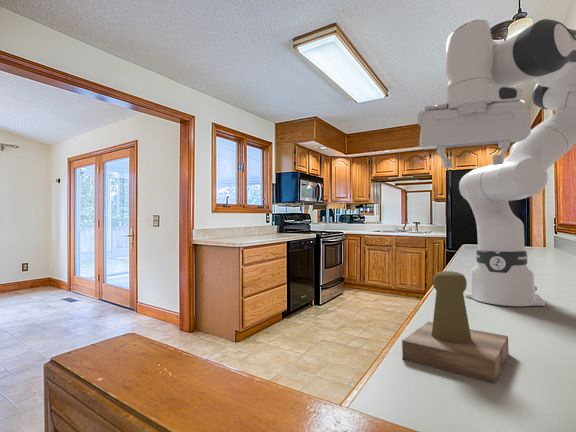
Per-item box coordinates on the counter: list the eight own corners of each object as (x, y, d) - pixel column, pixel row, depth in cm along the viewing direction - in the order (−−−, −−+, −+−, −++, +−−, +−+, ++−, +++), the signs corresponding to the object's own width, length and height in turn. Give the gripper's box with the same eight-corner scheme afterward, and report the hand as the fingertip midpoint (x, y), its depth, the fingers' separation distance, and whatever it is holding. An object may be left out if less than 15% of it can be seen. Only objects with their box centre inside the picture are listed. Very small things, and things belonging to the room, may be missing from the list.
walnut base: (428, 337, 63) (428, 321, 63) (508, 353, 54) (507, 336, 54) (402, 358, 53) (402, 340, 53) (495, 383, 44) (494, 361, 44)
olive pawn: (475, 345, 50) (472, 275, 51) (433, 341, 52) (431, 273, 53) (467, 333, 56) (465, 269, 56) (430, 329, 58) (428, 268, 58)
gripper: (418, 102, 68) (420, 167, 67) (532, 87, 62) (535, 159, 61) (416, 112, 74) (418, 171, 73) (520, 100, 68) (523, 165, 67)
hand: (472, 166), depth 67 cm, fingers open, 8 cm apart
